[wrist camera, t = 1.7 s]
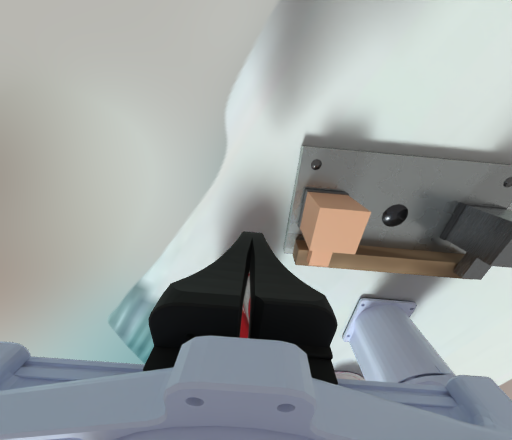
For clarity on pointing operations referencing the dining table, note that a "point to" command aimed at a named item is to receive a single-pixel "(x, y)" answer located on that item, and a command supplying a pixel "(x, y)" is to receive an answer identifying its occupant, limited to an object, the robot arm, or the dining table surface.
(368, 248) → the rail
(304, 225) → the block
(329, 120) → the dining table surface
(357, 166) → the plate
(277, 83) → the dining table surface
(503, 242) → the fixed leg
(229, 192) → the dining table surface
